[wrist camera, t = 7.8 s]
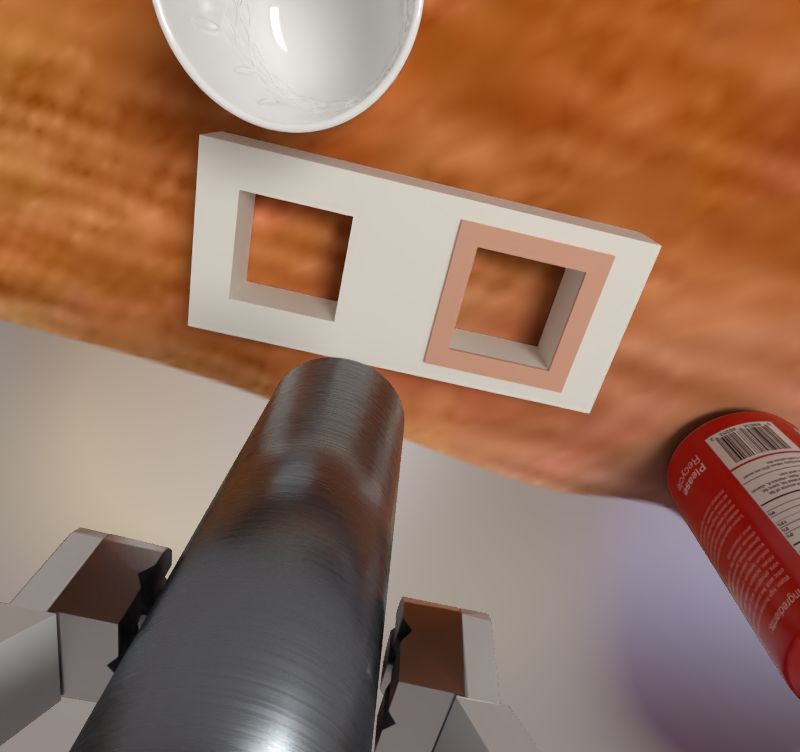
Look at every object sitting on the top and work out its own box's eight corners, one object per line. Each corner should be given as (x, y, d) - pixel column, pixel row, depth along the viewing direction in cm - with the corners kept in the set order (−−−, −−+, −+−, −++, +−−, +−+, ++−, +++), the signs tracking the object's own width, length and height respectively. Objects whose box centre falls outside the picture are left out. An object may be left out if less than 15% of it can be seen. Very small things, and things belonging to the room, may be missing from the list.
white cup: (400, 140, 27) (390, 160, 18) (236, 97, 26) (140, 96, 17) (444, -60, 23) (458, -158, 14) (256, -114, 23) (149, -252, 14)
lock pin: (437, 364, 14) (439, 983, 4) (399, 500, 16) (338, 1152, 6) (266, 325, 14) (-165, 875, 4) (248, 467, 16) (-75, 1083, 6)
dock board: (638, 232, 28) (663, 246, 25) (575, 387, 32) (590, 415, 29) (221, 131, 27) (197, 134, 24) (208, 305, 31) (186, 326, 28)
